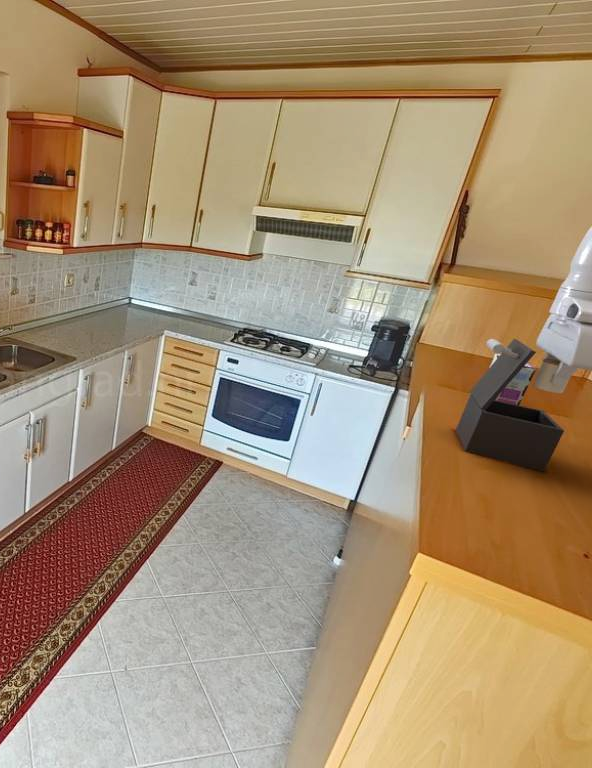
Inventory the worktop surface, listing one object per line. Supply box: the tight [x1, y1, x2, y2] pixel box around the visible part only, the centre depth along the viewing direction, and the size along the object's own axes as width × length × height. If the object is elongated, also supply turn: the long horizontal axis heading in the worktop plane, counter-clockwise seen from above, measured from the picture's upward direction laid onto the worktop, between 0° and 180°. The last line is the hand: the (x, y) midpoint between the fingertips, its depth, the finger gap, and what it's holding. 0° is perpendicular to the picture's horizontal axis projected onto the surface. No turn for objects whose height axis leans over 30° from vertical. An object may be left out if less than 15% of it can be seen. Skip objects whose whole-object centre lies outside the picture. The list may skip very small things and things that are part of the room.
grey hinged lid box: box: [455, 394, 565, 473], centre depth 100 cm, size 13×13×9 cm
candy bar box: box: [488, 353, 537, 405], centre depth 112 cm, size 11×5×16 cm, turn 154°
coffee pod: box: [531, 358, 571, 394], centre depth 91 cm, size 5×5×5 cm
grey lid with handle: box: [469, 338, 537, 410], centre depth 99 cm, size 13×13×5 cm
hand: (551, 381), depth 91 cm, fingers closed on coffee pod, 4 cm apart
